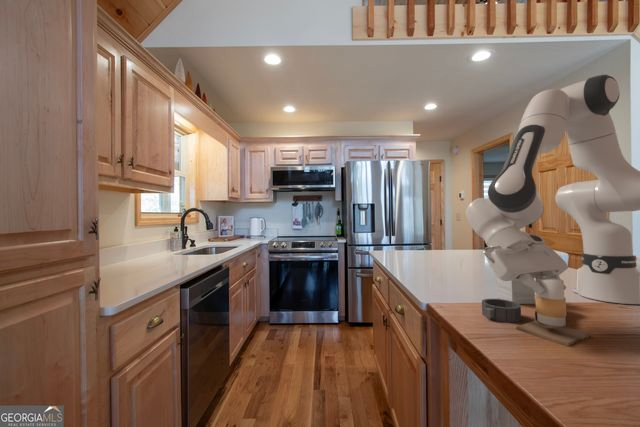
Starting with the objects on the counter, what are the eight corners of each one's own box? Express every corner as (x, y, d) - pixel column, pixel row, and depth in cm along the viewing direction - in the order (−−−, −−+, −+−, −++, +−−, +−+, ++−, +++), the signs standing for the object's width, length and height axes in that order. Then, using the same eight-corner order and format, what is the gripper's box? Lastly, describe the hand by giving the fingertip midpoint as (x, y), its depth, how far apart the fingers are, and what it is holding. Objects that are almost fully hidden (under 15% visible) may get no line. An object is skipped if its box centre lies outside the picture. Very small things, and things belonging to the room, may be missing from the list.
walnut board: (538, 321, 70) (538, 319, 70) (590, 336, 61) (590, 333, 61) (516, 329, 65) (515, 326, 65) (568, 346, 56) (567, 343, 56)
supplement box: (536, 304, 84) (534, 263, 84) (512, 304, 84) (510, 263, 84) (519, 297, 91) (517, 259, 91) (496, 297, 91) (495, 260, 91)
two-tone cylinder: (543, 316, 67) (542, 276, 67) (571, 324, 62) (569, 280, 62) (531, 320, 64) (529, 278, 64) (559, 328, 59) (557, 283, 60)
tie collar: (494, 308, 80) (494, 297, 80) (528, 318, 72) (527, 305, 72) (471, 314, 76) (471, 302, 76) (504, 325, 68) (504, 311, 68)
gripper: (487, 239, 67) (529, 288, 58) (545, 236, 73) (593, 280, 63) (473, 255, 71) (510, 303, 62) (529, 251, 77) (571, 294, 68)
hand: (552, 291), depth 63 cm, fingers closed on two-tone cylinder, 5 cm apart
